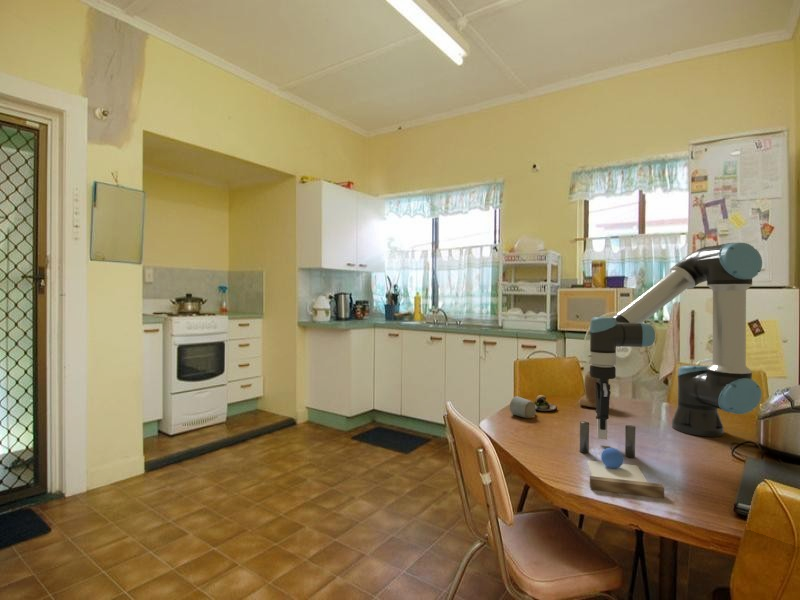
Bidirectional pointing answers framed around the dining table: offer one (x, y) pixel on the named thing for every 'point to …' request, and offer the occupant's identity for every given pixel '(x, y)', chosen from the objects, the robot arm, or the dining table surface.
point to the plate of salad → (543, 404)
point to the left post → (584, 437)
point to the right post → (630, 441)
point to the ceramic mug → (522, 407)
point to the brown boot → (589, 391)
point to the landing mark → (616, 471)
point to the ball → (612, 458)
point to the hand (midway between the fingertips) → (601, 438)
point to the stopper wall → (627, 486)
